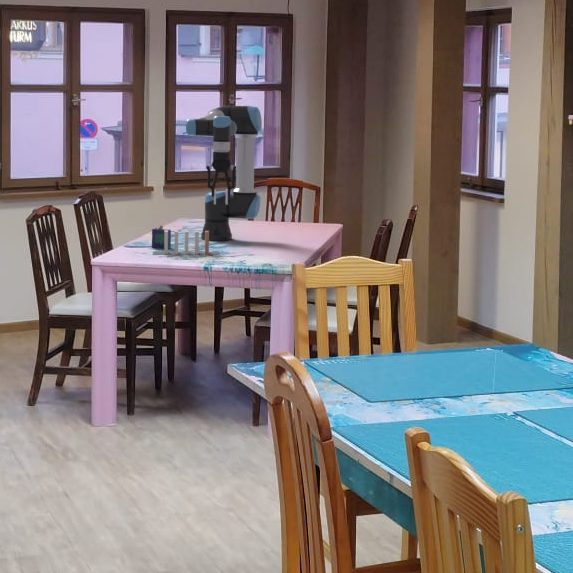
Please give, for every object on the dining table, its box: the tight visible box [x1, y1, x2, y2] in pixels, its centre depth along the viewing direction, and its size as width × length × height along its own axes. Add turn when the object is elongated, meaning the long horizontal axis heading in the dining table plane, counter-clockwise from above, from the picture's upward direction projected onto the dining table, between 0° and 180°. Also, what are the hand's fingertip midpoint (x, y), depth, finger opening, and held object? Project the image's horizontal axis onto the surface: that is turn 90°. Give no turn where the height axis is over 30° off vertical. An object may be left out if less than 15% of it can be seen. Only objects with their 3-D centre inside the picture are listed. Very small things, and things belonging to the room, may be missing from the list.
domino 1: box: [163, 230, 169, 254], centre depth 530 cm, size 2×5×10 cm, turn 6°
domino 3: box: [184, 230, 190, 254], centre depth 531 cm, size 2×5×10 cm, turn 6°
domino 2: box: [173, 229, 179, 254], centre depth 530 cm, size 2×5×10 cm, turn 6°
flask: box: [151, 225, 172, 250], centre depth 546 cm, size 9×3×11 cm, turn 74°
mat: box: [152, 251, 221, 256], centre depth 532 cm, size 30×10×1 cm, turn 96°
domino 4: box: [194, 230, 200, 254], centre depth 531 cm, size 2×5×10 cm, turn 6°
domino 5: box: [204, 231, 210, 256], centre depth 532 cm, size 2×5×10 cm, turn 6°
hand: (220, 203), depth 529 cm, fingers open, 4 cm apart
